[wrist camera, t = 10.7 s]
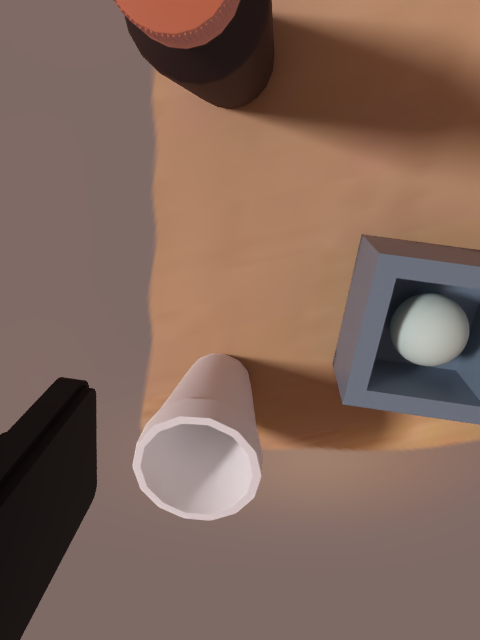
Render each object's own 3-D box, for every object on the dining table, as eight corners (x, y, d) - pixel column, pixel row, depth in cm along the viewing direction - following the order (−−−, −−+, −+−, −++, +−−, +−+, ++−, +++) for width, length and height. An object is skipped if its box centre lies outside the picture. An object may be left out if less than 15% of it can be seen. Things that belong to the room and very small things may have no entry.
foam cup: (183, 327, 42) (144, 401, 30) (276, 352, 42) (275, 434, 30) (165, 408, 46) (125, 503, 34) (251, 430, 46) (242, 533, 34)
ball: (392, 278, 38) (410, 303, 32) (463, 289, 37) (493, 314, 32) (376, 341, 40) (390, 373, 35) (442, 351, 40) (467, 385, 34)
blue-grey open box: (361, 234, 37) (379, 253, 31) (510, 254, 37) (560, 277, 30) (332, 364, 42) (342, 404, 36) (464, 383, 42) (498, 427, 35)
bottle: (256, -11, 32) (224, -233, 13) (286, 88, 34) (295, 18, 15) (171, 30, 33) (33, -118, 14) (205, 122, 35) (124, 97, 17)
